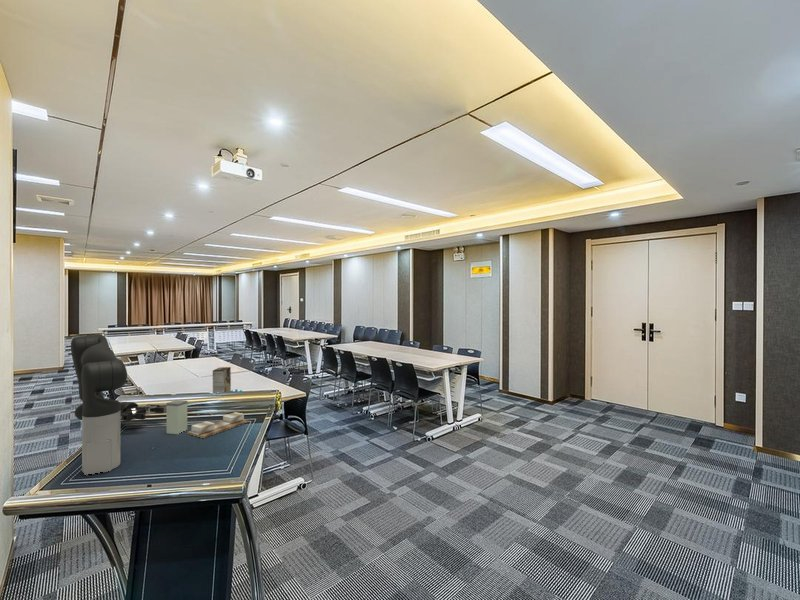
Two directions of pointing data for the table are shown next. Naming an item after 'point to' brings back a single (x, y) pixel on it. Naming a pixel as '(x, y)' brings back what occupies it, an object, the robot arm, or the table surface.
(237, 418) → the rail board
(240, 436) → the table surface
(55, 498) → the table surface
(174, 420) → the block
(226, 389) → the coffee box
